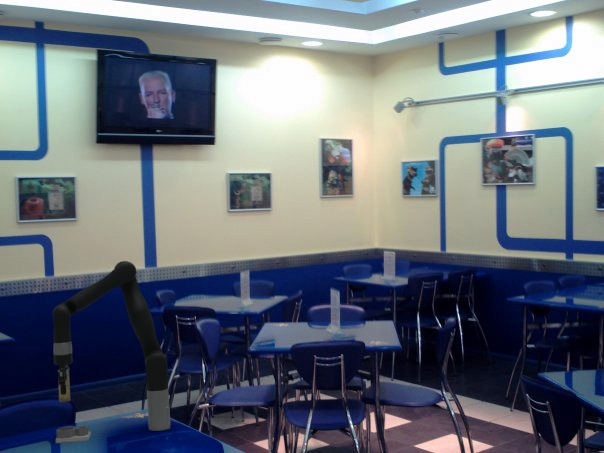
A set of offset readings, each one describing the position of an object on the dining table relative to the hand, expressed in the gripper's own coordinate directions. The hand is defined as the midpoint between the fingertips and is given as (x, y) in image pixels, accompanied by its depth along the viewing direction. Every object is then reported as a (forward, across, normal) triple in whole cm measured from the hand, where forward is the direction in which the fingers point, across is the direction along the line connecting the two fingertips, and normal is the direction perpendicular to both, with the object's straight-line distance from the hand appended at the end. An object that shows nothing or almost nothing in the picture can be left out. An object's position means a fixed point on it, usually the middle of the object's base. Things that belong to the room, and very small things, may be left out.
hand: (64, 392), depth 326 cm
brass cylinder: (+3, 0, 0) cm, 3 cm away
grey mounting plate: (+20, 0, -3) cm, 20 cm away
